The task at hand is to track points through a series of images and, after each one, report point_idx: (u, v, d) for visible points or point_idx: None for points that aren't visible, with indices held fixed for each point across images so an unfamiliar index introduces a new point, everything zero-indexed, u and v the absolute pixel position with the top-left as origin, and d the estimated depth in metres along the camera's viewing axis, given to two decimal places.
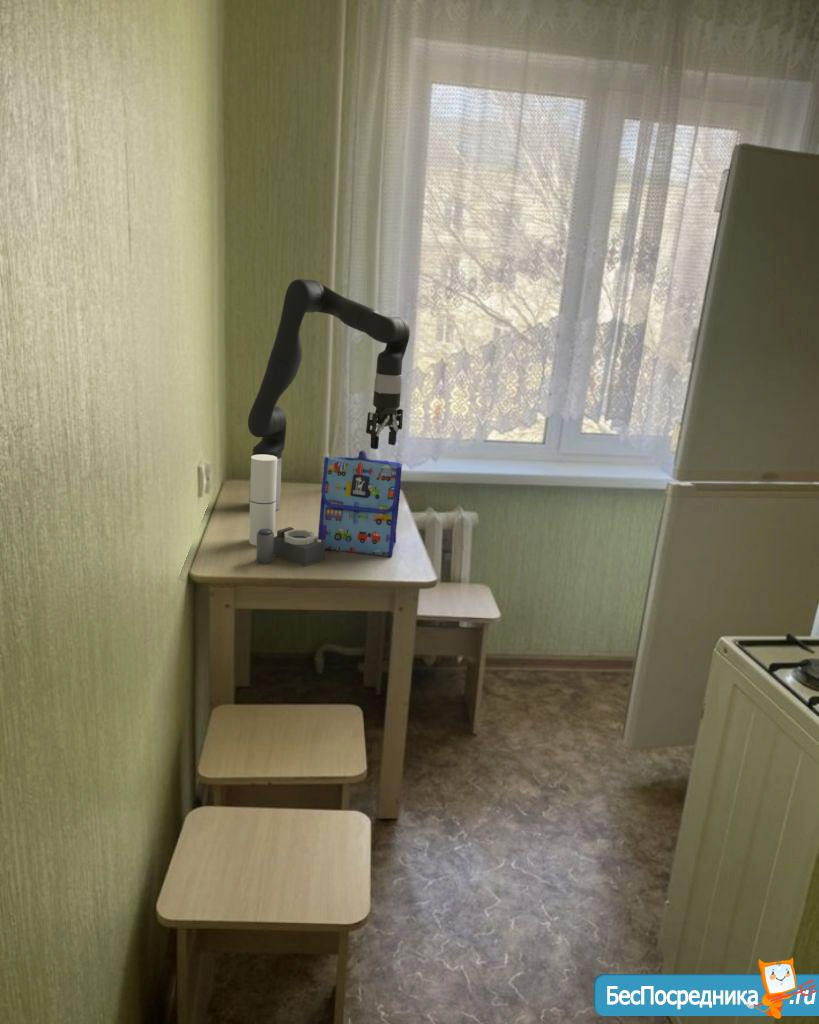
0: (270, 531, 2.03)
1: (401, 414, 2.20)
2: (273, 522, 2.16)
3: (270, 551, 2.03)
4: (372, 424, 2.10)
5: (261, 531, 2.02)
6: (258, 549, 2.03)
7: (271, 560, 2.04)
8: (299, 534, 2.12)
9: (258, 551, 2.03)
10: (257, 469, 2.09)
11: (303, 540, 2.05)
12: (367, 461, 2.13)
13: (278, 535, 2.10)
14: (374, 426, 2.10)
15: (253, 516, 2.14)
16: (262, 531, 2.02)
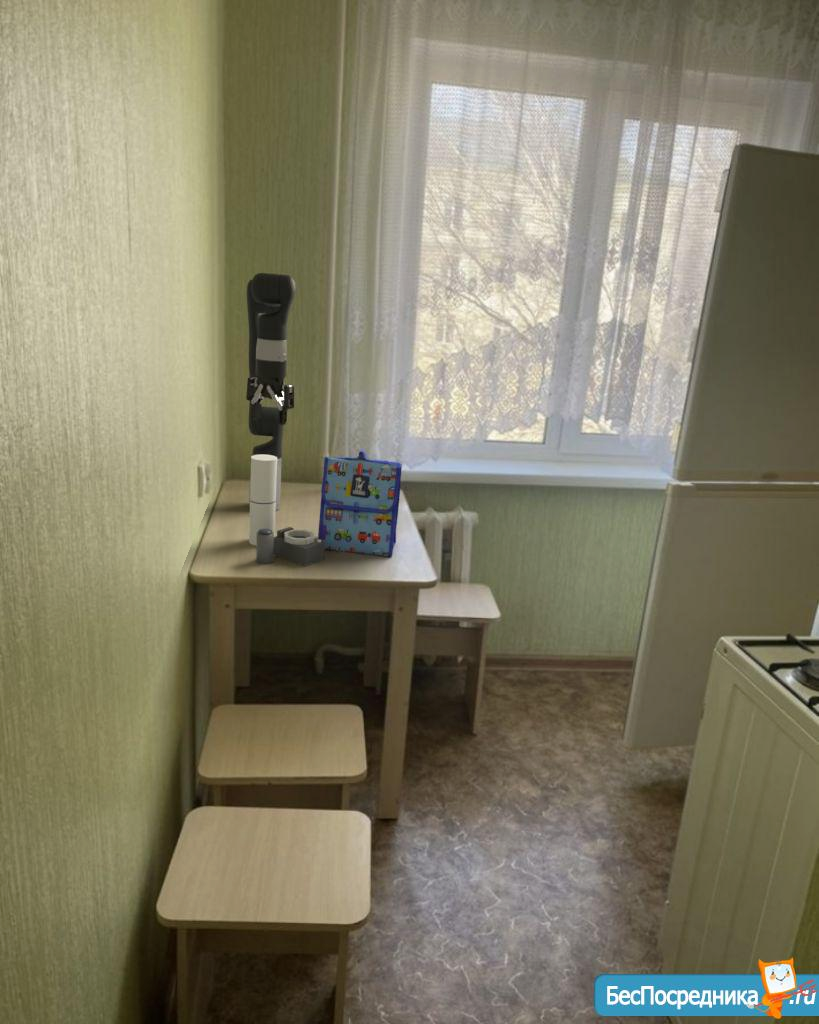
0: (270, 531, 2.03)
1: None
2: (273, 522, 2.16)
3: (270, 551, 2.03)
4: (292, 397, 1.89)
5: (261, 531, 2.02)
6: (258, 549, 2.03)
7: (271, 560, 2.04)
8: (299, 534, 2.12)
9: (258, 551, 2.03)
10: (257, 469, 2.09)
11: (303, 540, 2.05)
12: (367, 461, 2.13)
13: (278, 535, 2.10)
14: None
15: (253, 516, 2.14)
16: (262, 531, 2.02)
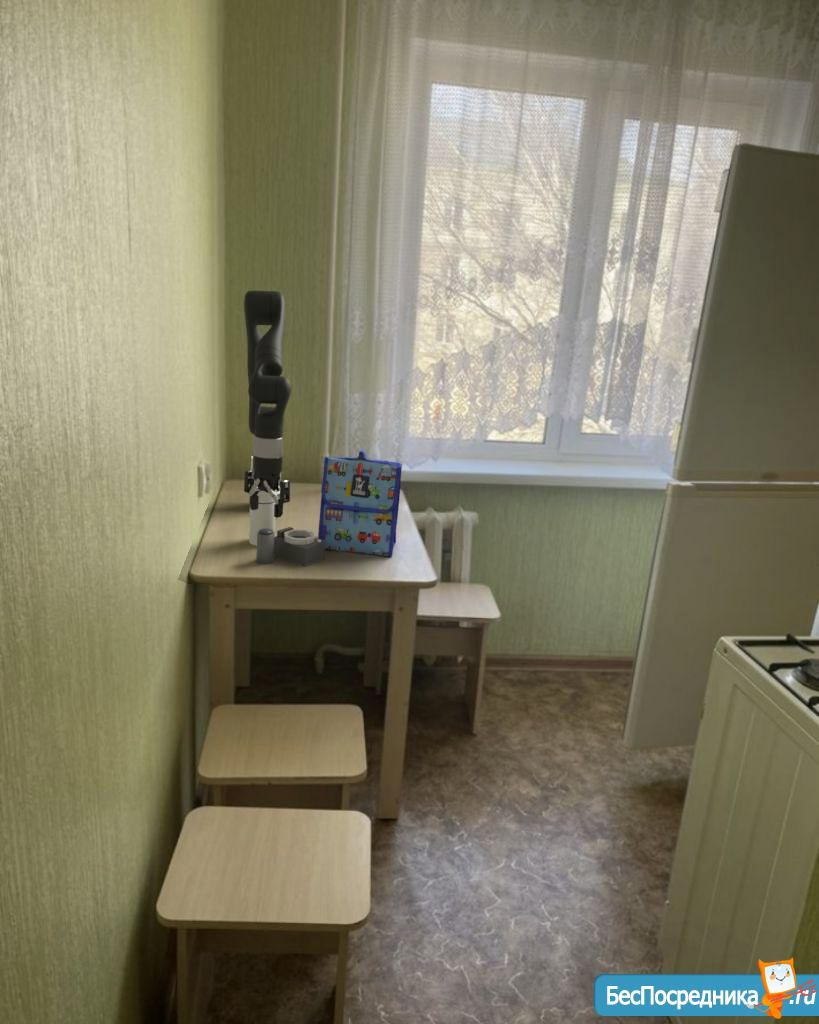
0: (270, 531, 2.03)
1: None
2: (273, 522, 2.16)
3: (270, 551, 2.03)
4: (288, 491, 1.96)
5: (262, 531, 2.02)
6: (258, 549, 2.03)
7: (271, 560, 2.04)
8: (299, 534, 2.12)
9: (258, 551, 2.03)
10: None
11: (303, 540, 2.05)
12: (367, 461, 2.13)
13: (278, 535, 2.10)
14: None
15: (253, 516, 2.14)
16: (263, 531, 2.02)
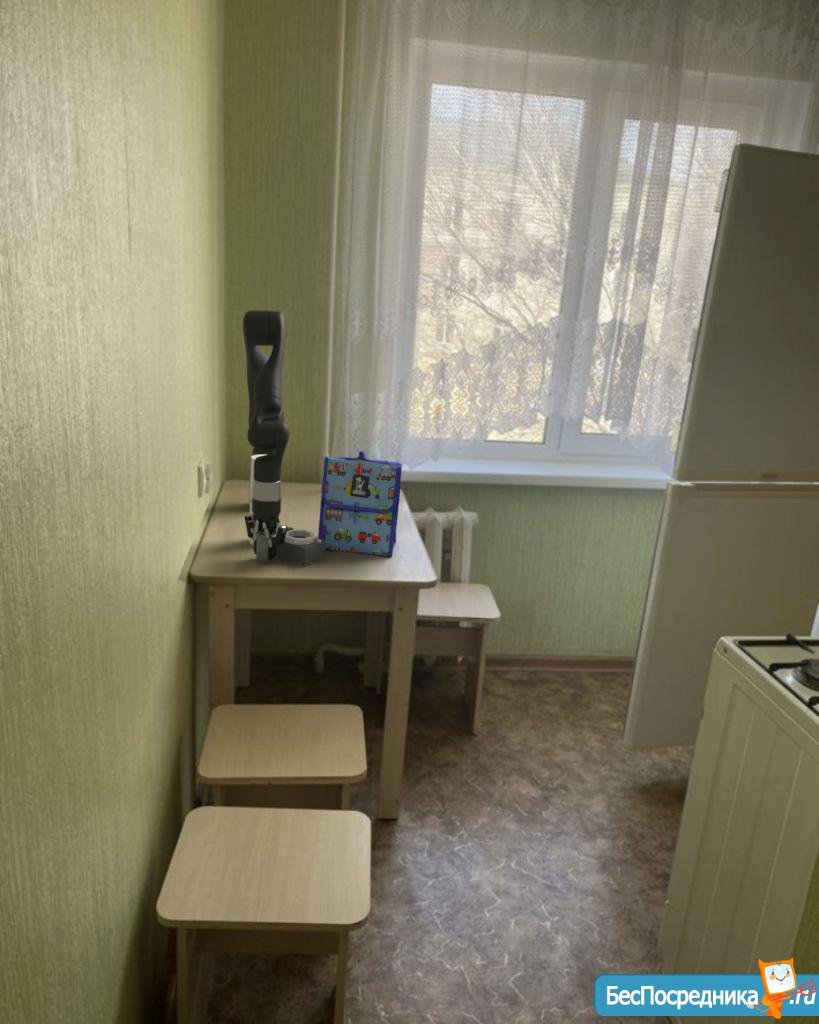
0: None
1: None
2: None
3: None
4: (284, 536, 2.00)
5: (261, 531, 2.02)
6: (258, 549, 2.02)
7: (271, 560, 2.04)
8: (299, 534, 2.12)
9: (258, 551, 2.03)
10: None
11: (303, 540, 2.05)
12: (367, 461, 2.13)
13: None
14: None
15: None
16: None
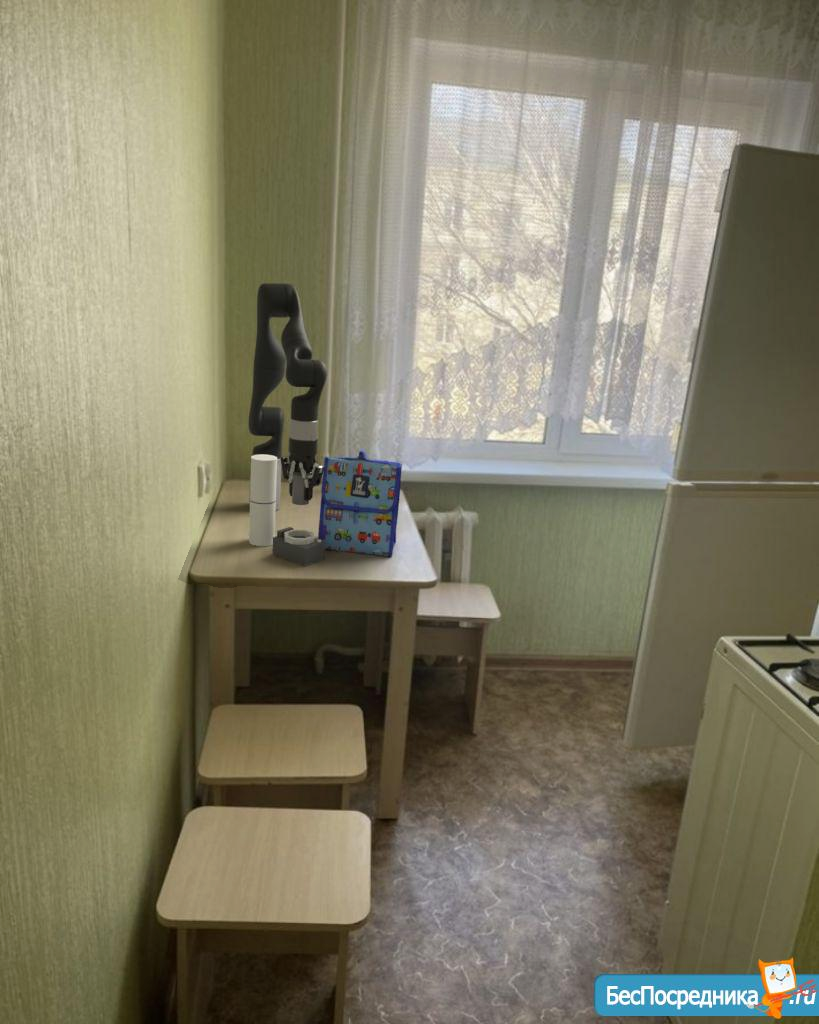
0: None
1: None
2: (273, 522, 2.16)
3: None
4: (320, 477, 2.01)
5: (297, 472, 2.03)
6: (294, 490, 2.03)
7: (307, 501, 2.05)
8: (299, 534, 2.12)
9: (294, 492, 2.03)
10: (257, 469, 2.09)
11: (303, 540, 2.05)
12: (367, 461, 2.13)
13: (278, 535, 2.10)
14: None
15: (253, 516, 2.14)
16: (298, 472, 2.03)
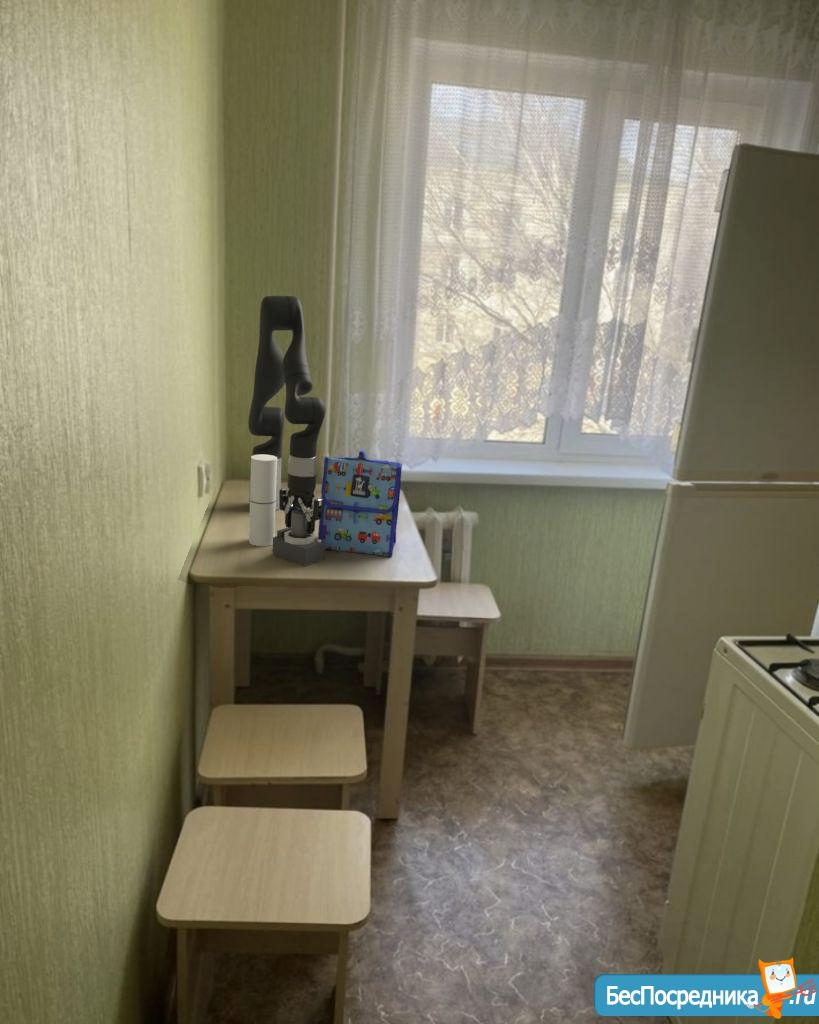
0: None
1: None
2: (273, 522, 2.16)
3: (304, 529, 2.07)
4: (321, 510, 2.03)
5: (296, 510, 2.06)
6: (293, 527, 2.06)
7: None
8: None
9: (293, 529, 2.06)
10: (257, 469, 2.09)
11: (303, 540, 2.05)
12: (367, 461, 2.13)
13: (278, 535, 2.10)
14: None
15: (253, 516, 2.14)
16: (297, 510, 2.06)
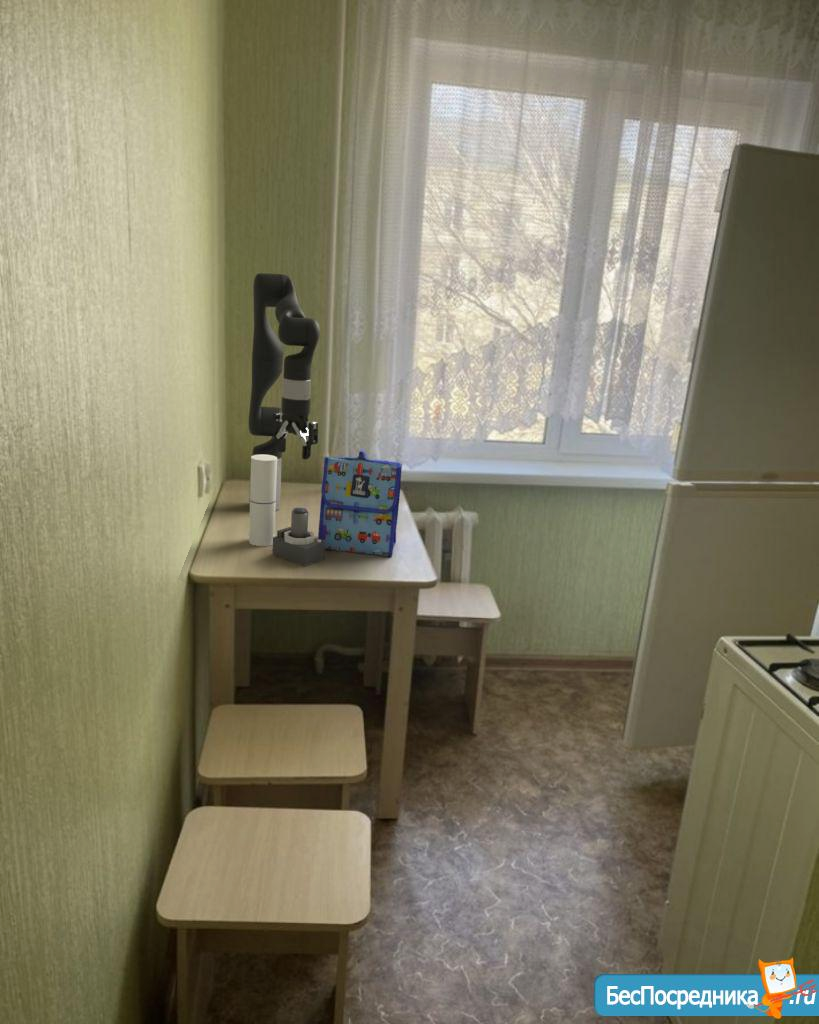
0: (304, 510, 2.06)
1: None
2: (273, 522, 2.16)
3: (304, 529, 2.07)
4: (316, 433, 2.00)
5: (296, 510, 2.06)
6: (293, 527, 2.06)
7: None
8: None
9: (293, 529, 2.06)
10: (257, 469, 2.09)
11: (303, 540, 2.05)
12: (367, 461, 2.13)
13: (278, 535, 2.10)
14: None
15: (253, 516, 2.14)
16: (297, 510, 2.06)
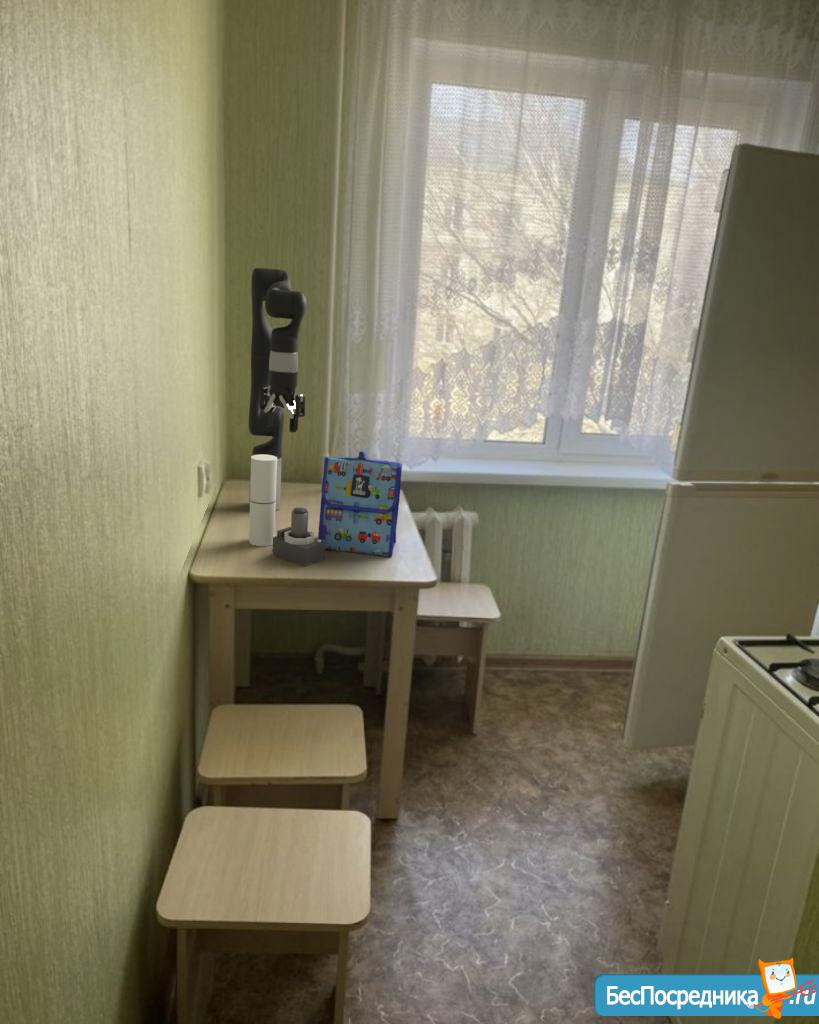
0: (304, 510, 2.06)
1: None
2: (273, 522, 2.16)
3: (304, 529, 2.07)
4: (303, 406, 2.01)
5: (296, 510, 2.06)
6: (293, 527, 2.06)
7: None
8: None
9: (293, 529, 2.06)
10: (257, 469, 2.09)
11: (303, 540, 2.05)
12: (367, 461, 2.13)
13: (278, 535, 2.10)
14: None
15: (253, 516, 2.14)
16: (297, 510, 2.06)
